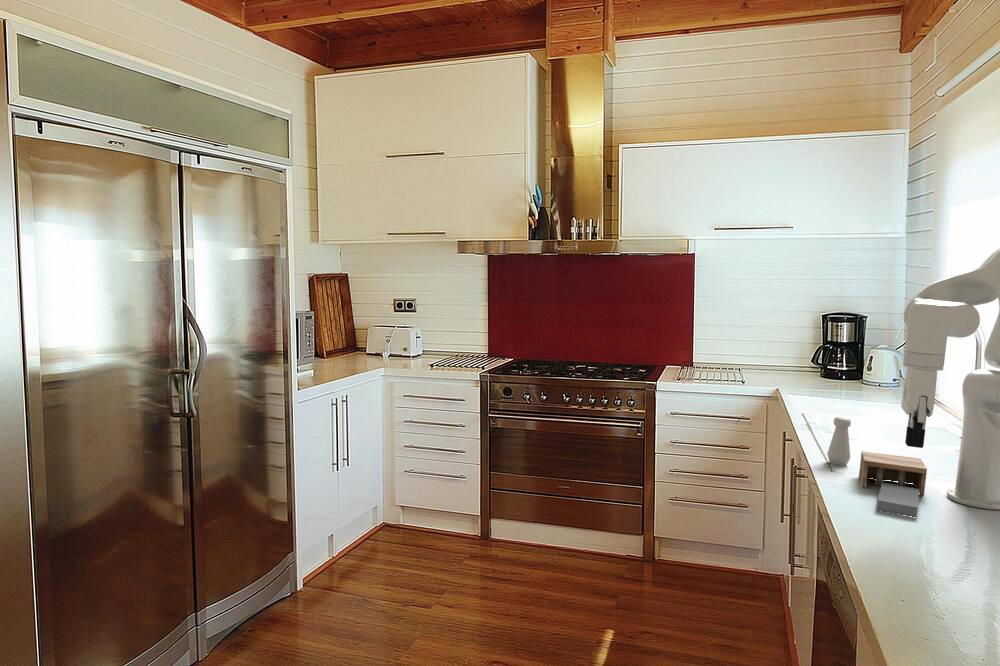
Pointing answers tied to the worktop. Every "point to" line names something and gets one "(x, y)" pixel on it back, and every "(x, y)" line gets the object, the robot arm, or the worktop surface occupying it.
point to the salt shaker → (840, 442)
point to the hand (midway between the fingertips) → (914, 445)
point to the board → (898, 499)
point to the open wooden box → (892, 469)
